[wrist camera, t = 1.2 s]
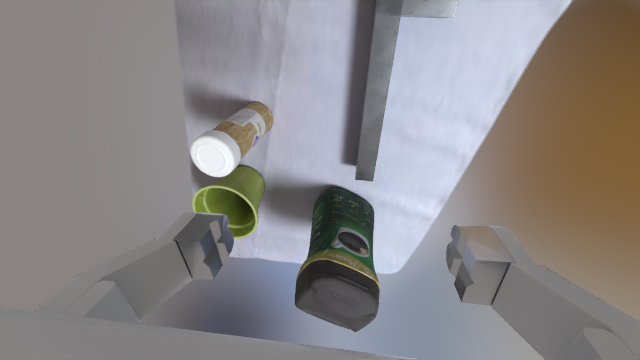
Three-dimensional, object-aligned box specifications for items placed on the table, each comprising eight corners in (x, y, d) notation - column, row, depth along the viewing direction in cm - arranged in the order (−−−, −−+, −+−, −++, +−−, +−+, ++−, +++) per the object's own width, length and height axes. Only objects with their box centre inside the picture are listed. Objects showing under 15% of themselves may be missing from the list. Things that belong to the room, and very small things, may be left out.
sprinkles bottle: (272, 135, 37) (233, 183, 26) (243, 128, 37) (190, 173, 26) (275, 104, 34) (233, 142, 23) (243, 97, 35) (185, 132, 23)
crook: (377, -11, 27) (379, -17, 23) (449, -10, 26) (463, -16, 22) (355, 165, 38) (355, 179, 34) (406, 170, 37) (410, 184, 34)
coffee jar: (308, 211, 44) (279, 315, 28) (329, 178, 40) (308, 278, 24) (356, 235, 45) (354, 346, 29) (381, 205, 41) (394, 316, 25)
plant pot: (276, 162, 39) (256, 193, 32) (274, 208, 44) (257, 244, 37) (219, 151, 40) (187, 180, 32) (223, 198, 45) (197, 232, 38)
